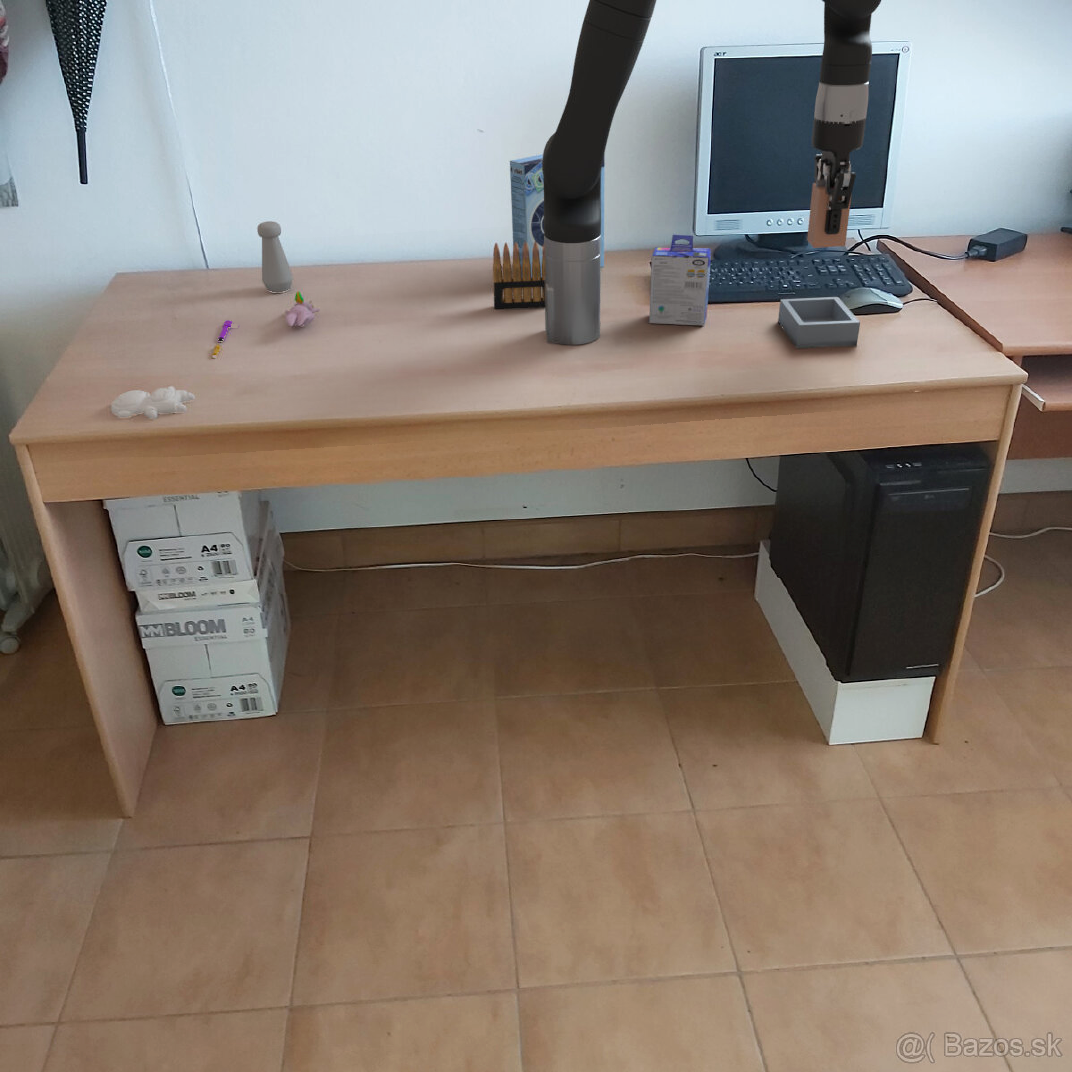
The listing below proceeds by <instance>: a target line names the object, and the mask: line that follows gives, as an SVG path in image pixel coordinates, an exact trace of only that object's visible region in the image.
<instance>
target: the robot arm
mask: <svg viewBox="0 0 1072 1072" xmlns="http://www.w3.org/2000/svg"><path fill="white" fill-rule="evenodd" d="M821 1H822V2H823V3H824V8H823V37H824V38H823V39H824V41H823V50H822V54H821V63H820V72H819V83H818V88H817V93H816V97H815V105H814V115H813V117H814V118H813V125H812V136H811V146H812V148H813V149H814V150H817V151H820V152H821V153H820V154H817V153H816V154H815V156H814V183H816V180H824V189H825V194H827V206H826V207H827V211H826V220H825V229H824V232H825V233H826V234H828V235H830V234H838V233H839V231H840V222H841V214H842V210H844V209H848V206H849V202H850V198H851V199H852V195H851V194H852V193H853V189H854V184H855V181H856V176H857V175H856V172H855V171H852V162H851V161H850V154H851V152H853V151H857V150H860V149H861V148H862V147H863V144H864V137H865V129H866V120H867V113H868V104H869V84H870V83H869V81H870V75H871V74H870V73H871V66H872V57H873V44H872V41H871V35H870V34H871V33H870V31H871V23H872V16H873V15H872V14H873V13H874V12H875V11H876V10H877V9H878V7H879V6H880V4H881V2H882V0H821ZM656 4H657V0H589V1H588V4H587V6H586V7H587V8H586V11H585V14H584V18H583V21H582V24H581V29H580V33H579V38H578V41H577V47H576V53H575V56H574V63H573V69H572V76H571V81H570V88H569V94H568V97H567V100H566V102H565V106H564V109H563V112H562V114H561V116H560V120H559V123H558V125H557V127H556V130H555V132H554V133H553V134H551V136H550V137H549V138H548V140H547V141H546V144H545V146H544V148H543V152H542V154H543V160H542V171H543V181H544V246H545V277H544V286H545V308H544V315H545V316H544V319H545V321H544V322H545V324H544V325H545V328H544V329H545V334H546V335H545V336H546V342H547V343H555V344H556V343H557V344H560V345H561V344H562V345H573V346H574V345H584V344H585V345H586V344H589V343H591V342H594V341H595V340H598V339H599V338H600V335H601V284H602V283H601V280H602V279H601V271H602V270H601V170H602V163H603V158H604V157H605V156H604V153H606V148H607V143H608V141H609V140H608V139H609V136H610V131H611V127H612V123H613V120H614V117H615V114H616V110H617V107H618V105H619V103H620V101H621V98H622V97H623V94H624V92H625V89H626V88H627V85H628V82H629V80H630V79H631V75H632V73H633V71H634V68H635V65H636V62H637V61H638V58H639V55H640V52H641V50H642V47H643V44H644V41H645V39H646V38H645V37H646V35H647V32H648V29H649V28H650V23H651V20H652V19H651V18H652V17H653V14H654V11H655V7H656ZM604 159H605V158H604ZM851 171H852V172H851ZM833 186H835V187H834V189H831V188H830V187H833ZM838 197H840V201H837V199H838Z"/></svg>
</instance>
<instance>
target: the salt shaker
mask: <svg viewBox="0 0 1072 1072" xmlns="http://www.w3.org/2000/svg"><path fill="white" fill-rule="evenodd" d="M256 228H257V234H258V237H260V238H261V280H262V283H263V285H264V286H265V288H266V290H267V291H268V290H269V291H272V292H283V291H286V290H288V289H290V290H291V288H292V287H291V286H292V283H293V279H294V276H293V273H292V270H291V268H290V264H289V262H288V259H287V256H286V253H285V252H284V251H285V250H284V249H283V246H282V242H281V241H280V237H279V236H281V233H282V228H281V225H280V224H279V223H278V222H276V221H269V220H268V221H263V222H261V223H259V224H258V225H257V227H256ZM269 291H268V292H269Z"/></svg>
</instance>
